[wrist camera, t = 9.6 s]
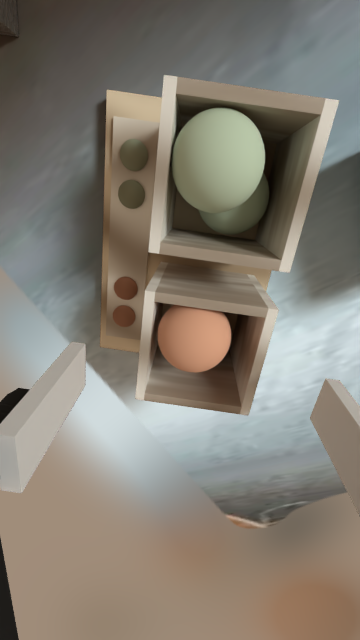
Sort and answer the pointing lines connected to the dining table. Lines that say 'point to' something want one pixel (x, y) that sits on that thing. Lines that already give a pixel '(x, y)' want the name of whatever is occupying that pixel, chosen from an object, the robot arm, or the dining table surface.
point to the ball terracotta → (194, 337)
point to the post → (8, 18)
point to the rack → (200, 234)
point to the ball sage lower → (240, 212)
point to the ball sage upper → (218, 160)
